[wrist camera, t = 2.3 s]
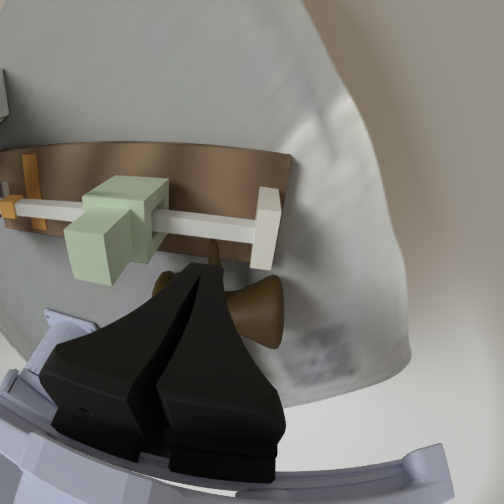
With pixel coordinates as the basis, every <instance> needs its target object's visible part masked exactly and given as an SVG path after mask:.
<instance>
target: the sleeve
mask: <svg viewBox="0 0 504 504" xmlns="http://www.w3.org/2000/svg"><path fill="white" fill-rule="evenodd" d="M82 203H83V211H84V214H82V215H81V216H80V217H78V218H77V219H76V220H75V221H73V222H72V223H71V224H70V225H69V226H67V227H66V228H65V229H64V230H63V231H64V236H65V241H66V246H67V250H68V255H69V259H70V263H71V267H72V271H73V275H74V278H75V279H80V280H84V281H89V282H94V283H98V284H103V285H108V286H113V284H114V283H115V281H116V280H117V278H118V277H119V275H120V274H121V273H122V271H123V270H124V268H125V267H126V266H127V264H128V263H129V261H130V262H137V263H143V264H148V263H149V261H150V260H151V258H152V257H153V255H154V253H155V252H156V250H157V249H158V247H159V246H160V244H161V243H162V241H163V240H164V238H165V237H166V235H167V234H168V233H164V232H156V231H152V221H151V211H152V210H153V209H164V210H169V179H168V178H154V177H138V176H117V175H115V176H113V177H112V178H110V179H108V180H107V181H105V182H104V183H102V184H100V185H99V186H97V187H96V188H94V189H93V190H91V191H89V192H88V193H86V194H85V195H83V196H82Z"/></svg>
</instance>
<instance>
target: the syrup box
mask: <svg viewBox="0 0 504 504" xmlns="http://www.w3.org/2000/svg"><path fill="white" fill-rule="evenodd" d="M8 115H9V109H8V101H7V95H6V89H5V82H4V75H3V69H2V68H0V123H1V122H2V121H3V120H4V119H5V118H6V117H7V116H8Z"/></svg>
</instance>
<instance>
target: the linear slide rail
mask: <svg viewBox="0 0 504 504" xmlns="http://www.w3.org/2000/svg"><path fill="white" fill-rule="evenodd" d="M82 214H84V211H83V203H82V202H71V201H56V200H39V199H24V198H23V195H10V194H9V187H8V182H2V181H0V218H1V217H3V218H12V219H16V218H17V217H19V216H26V217H35V218H44V219H53V220H62V221H71V222H73V221H75V220H76V219H77V218H78V217H80V216H81V215H82ZM280 218H281V205H280V197H279V190H278V189H275V188H268V187H260V189H259V196H258V203H257V211H256V218H255V220H250V219H242V218H234V217H226V216H218V215H209V214H200V213H192V212H183V211H173V210H164V209H153V210H152V211H151V221H152V231H156V232H164V233H173V234H181V235H189V236H197V237H205V238H213V239H221V240H229V241H236V242H244V243H252V251H251V262H250V268H256V269H264V270H271V267H272V261H273V256H274V251H275V245H276V240H277V234H278V229H279V223H280Z"/></svg>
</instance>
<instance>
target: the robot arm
mask: <svg viewBox="0 0 504 504" xmlns="http://www.w3.org/2000/svg"><path fill="white" fill-rule="evenodd" d="M223 274H224V269H223V268H222V266H216V265H209V264H201V263H194V262H191V263H190V264H189V265H187V266H186V267H185V268H184V269H183V270H182V271H181V272H180V273H179V274H178V275H177V276H176V277H175V278H174V279H173V280H172V281H171V282H170V283H169V284H167V285H166V286H165V287H164V288H163V289H162V290H161V291H159V292H158V293H157V294H156V295H154V296H153V297H152V298H151V299H149V300H148V301H147V302H146V303H144V304H143V305H141V306H140V307H139V308H137V309H136V310H134V311H132V312H131V313H129V314H128V315H126V316H124V317H122V318H120V319H119V320H117V321H115V322H113V323H111V324H109V325H107V326H105V327H103V328H101V329H99V330H97V328H96V326H95V324H94V323H92V322H88V321H84V320H81V319H77V318H74V317H71V316H67V315H64V314H61V313H57V312H54V311H51V310H48V309H45V310H44V314H45V316H46V319H47V321H48V323H49V325H50V329H49V330H48V332H47V333H46V334H45V336H44V337H43V339H42V340H41V342H40V343H39V345H38V347H37V348H36V350H35V351H34V353H33V354H32V356H31V357H30V359H29V361H28V362H27V364H26V366H25V367H24V368H23V369H22V371H21V372H20V374H19V375H18V373H19V371H18V370H17V369H14V370H9V371H8V373H7V374H6V376H5V377H4V379H3V380H2V382H1V384H0V504H443V503H445V502H448V501H450V500H452V499H453V498H454V497H455V496H454V491H453V486H452V481H451V477H450V472H449V468H448V464H447V460H446V456H445V452H444V449H443V446H442V444H441V443H438V444H435V445H431V446H428V447H424V448H420V449H417V450H415V451H412V452H411V453H409V454H407V455H406V456H404V457H403V459H400V460H395V461H391V462H385V463H379V464H374V465H367V466H361V467H354V468H345V469H335V470H322V471H301V472H300V471H299V472H276V471H275V458H276V457H277V444H278V443H279V441H280V439H281V438H282V436H283V435H284V433H285V429H286V422H285V416H284V411H283V408H282V404H281V401H280V398H279V395H278V392H277V390H276V389H275V388H274V387H273V385H272V384H271V383H270V382H269V381H268V380H267V378H266V377H265V376H264V374H263V373H262V372H261V370H260V369H259V368H258V366H257V365H256V363H255V362H254V360H253V359H252V357H251V355H250V354H249V352H248V351H247V349H246V347H245V346H244V344H243V342H242V340H241V338H240V336H239V334H238V332H237V329H236V327H235V325H234V322H233V320H232V317H231V314H230V311H229V308H228V304H227V301H226V296H225V292H224V286H223ZM76 450H77V451H76ZM78 451H79V452H78ZM83 453H84V454H83ZM85 454H86V455H85ZM88 455H89V456H88ZM90 456H91V457H90ZM93 457H94V458H93ZM95 458H96V459H95ZM98 459H99V460H98ZM100 460H101V461H100ZM103 461H104V462H103ZM106 462H107V463H106ZM108 463H109V464H108ZM111 464H112V465H111ZM114 465H115V466H114ZM117 466H118V467H117ZM120 467H121V468H120ZM123 468H124V469H123ZM126 469H127V470H126ZM129 470H130V471H129ZM132 471H134V472H132ZM135 472H137V473H135ZM138 473H140V474H138ZM141 474H144V475H148V476H151V477H155V478H160V479H163V480H168V481H173V482H177V483H182V484H187V485H193V486H199V487H205V488H212V489H220V490H229V491H238V492H237V493H236V494H235V497H229V496H223V495H216V494H210V493H205V492H200V491H196V490H191V489H187V488H182V487H178V486H174V485H170V484H167V483H164V482H162V481H159V480H156V479H154V478H151V477H147V476H144V475H141Z"/></svg>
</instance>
